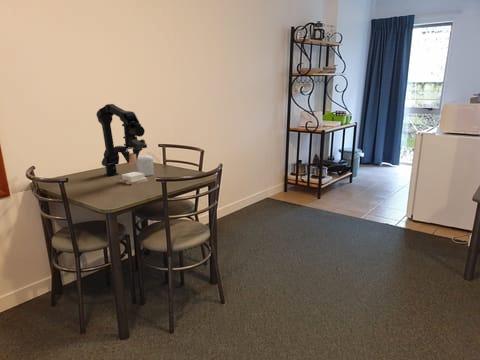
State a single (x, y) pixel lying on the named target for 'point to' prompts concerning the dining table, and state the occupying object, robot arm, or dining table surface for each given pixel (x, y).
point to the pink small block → (132, 159)
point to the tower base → (133, 181)
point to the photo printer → (145, 165)
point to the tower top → (133, 176)
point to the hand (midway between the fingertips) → (132, 162)
